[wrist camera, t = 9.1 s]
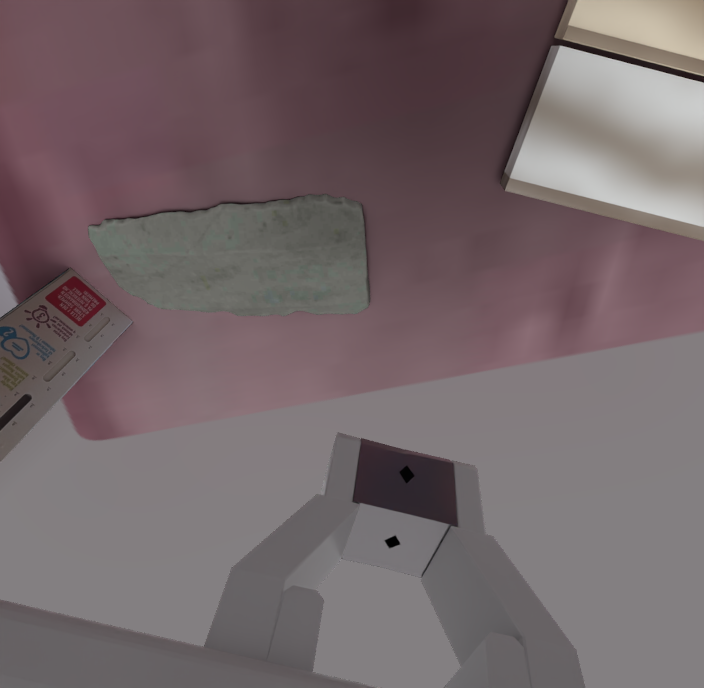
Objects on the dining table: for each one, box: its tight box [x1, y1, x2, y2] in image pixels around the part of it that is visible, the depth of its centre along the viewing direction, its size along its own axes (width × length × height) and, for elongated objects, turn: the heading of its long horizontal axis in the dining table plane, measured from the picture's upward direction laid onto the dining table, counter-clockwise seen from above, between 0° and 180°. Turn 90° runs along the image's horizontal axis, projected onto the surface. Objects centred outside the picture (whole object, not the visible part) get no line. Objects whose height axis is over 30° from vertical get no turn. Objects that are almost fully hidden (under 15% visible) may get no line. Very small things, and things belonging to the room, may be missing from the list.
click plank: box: [500, 46, 704, 241], centre depth 30 cm, size 8×22×2 cm, turn 78°
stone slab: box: [88, 194, 370, 316], centre depth 39 cm, size 22×3×10 cm
